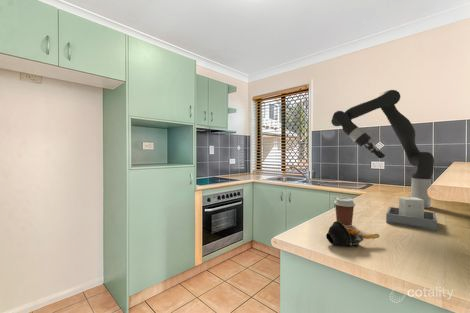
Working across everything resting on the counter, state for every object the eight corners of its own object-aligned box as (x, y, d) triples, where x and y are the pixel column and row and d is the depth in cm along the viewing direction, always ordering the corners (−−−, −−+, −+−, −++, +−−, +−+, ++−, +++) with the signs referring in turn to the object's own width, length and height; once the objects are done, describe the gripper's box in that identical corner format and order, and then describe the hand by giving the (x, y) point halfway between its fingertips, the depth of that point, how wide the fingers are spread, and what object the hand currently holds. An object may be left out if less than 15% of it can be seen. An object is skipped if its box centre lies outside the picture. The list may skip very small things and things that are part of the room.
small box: (416, 218, 110) (416, 197, 110) (424, 222, 105) (424, 199, 104) (398, 218, 111) (398, 196, 111) (405, 221, 106) (405, 199, 105)
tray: (389, 215, 120) (389, 206, 119) (434, 221, 108) (434, 212, 108) (386, 222, 107) (386, 213, 107) (436, 231, 96) (437, 220, 96)
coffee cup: (358, 228, 100) (358, 201, 99) (336, 227, 101) (336, 200, 101) (351, 222, 109) (352, 197, 108) (331, 220, 110) (331, 196, 110)
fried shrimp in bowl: (317, 227, 88) (355, 210, 91) (332, 256, 84) (370, 236, 88) (329, 226, 79) (369, 207, 83) (345, 258, 76) (387, 236, 80)
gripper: (362, 131, 123) (387, 152, 116) (367, 132, 134) (390, 152, 127) (351, 141, 126) (375, 162, 119) (357, 142, 137) (378, 161, 131)
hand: (382, 157), depth 123 cm, fingers open, 8 cm apart
